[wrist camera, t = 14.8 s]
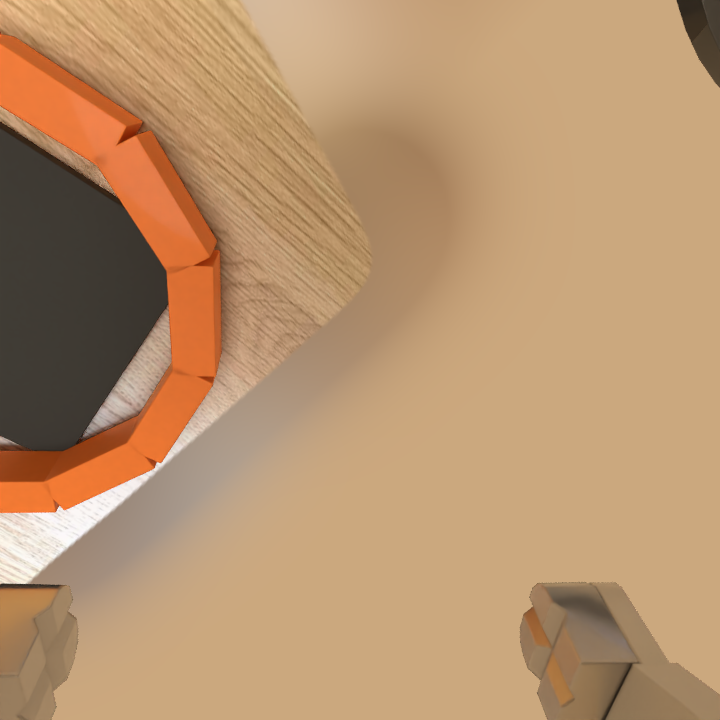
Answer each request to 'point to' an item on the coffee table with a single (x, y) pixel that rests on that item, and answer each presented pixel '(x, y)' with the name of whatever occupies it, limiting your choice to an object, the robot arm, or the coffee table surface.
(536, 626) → the robot arm
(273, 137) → the coffee table surface
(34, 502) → the hoop
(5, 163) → the mat
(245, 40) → the coffee table surface
